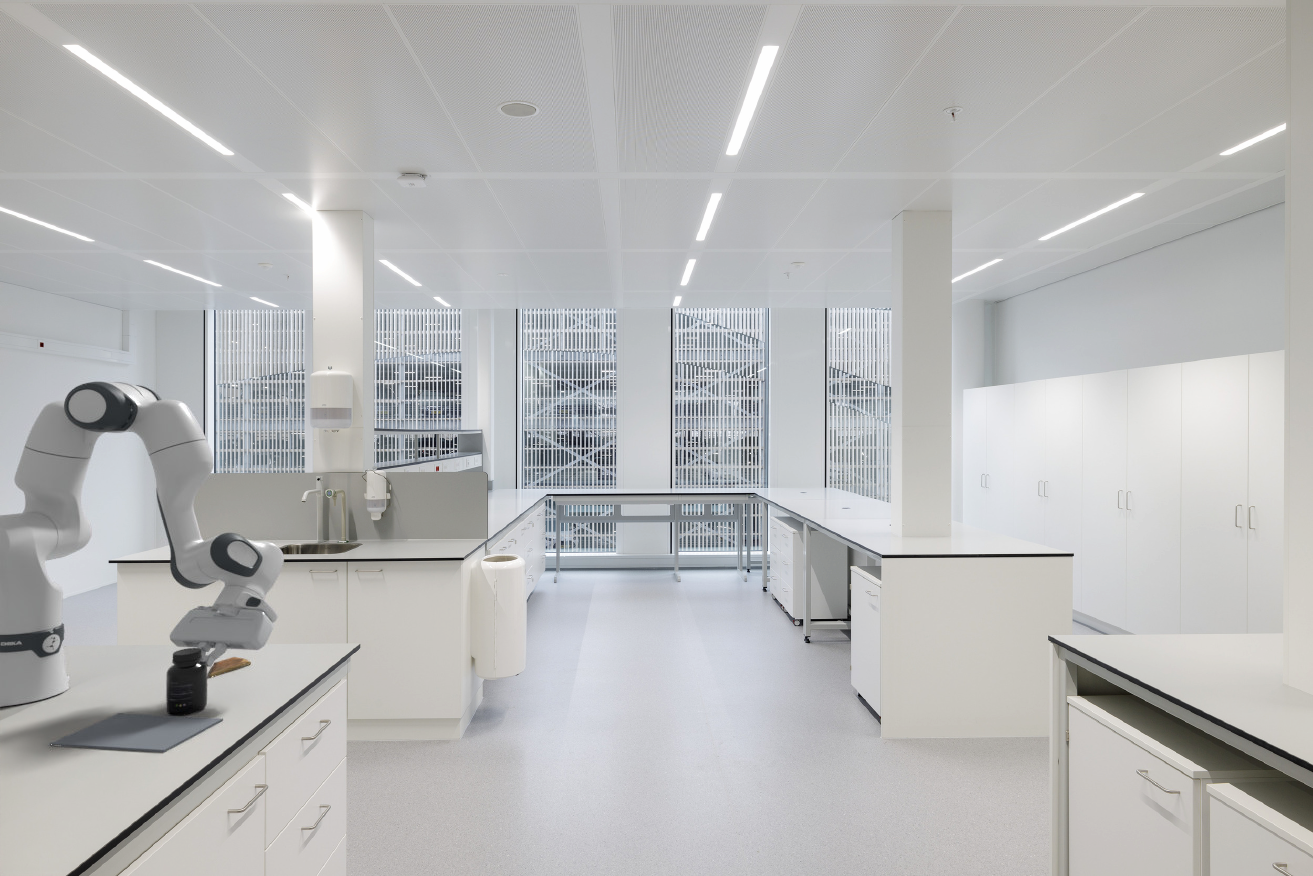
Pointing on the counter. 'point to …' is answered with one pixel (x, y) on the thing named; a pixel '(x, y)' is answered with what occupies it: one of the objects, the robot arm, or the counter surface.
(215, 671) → the shard
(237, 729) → the counter surface
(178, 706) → the supplement bottle
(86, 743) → the mat
